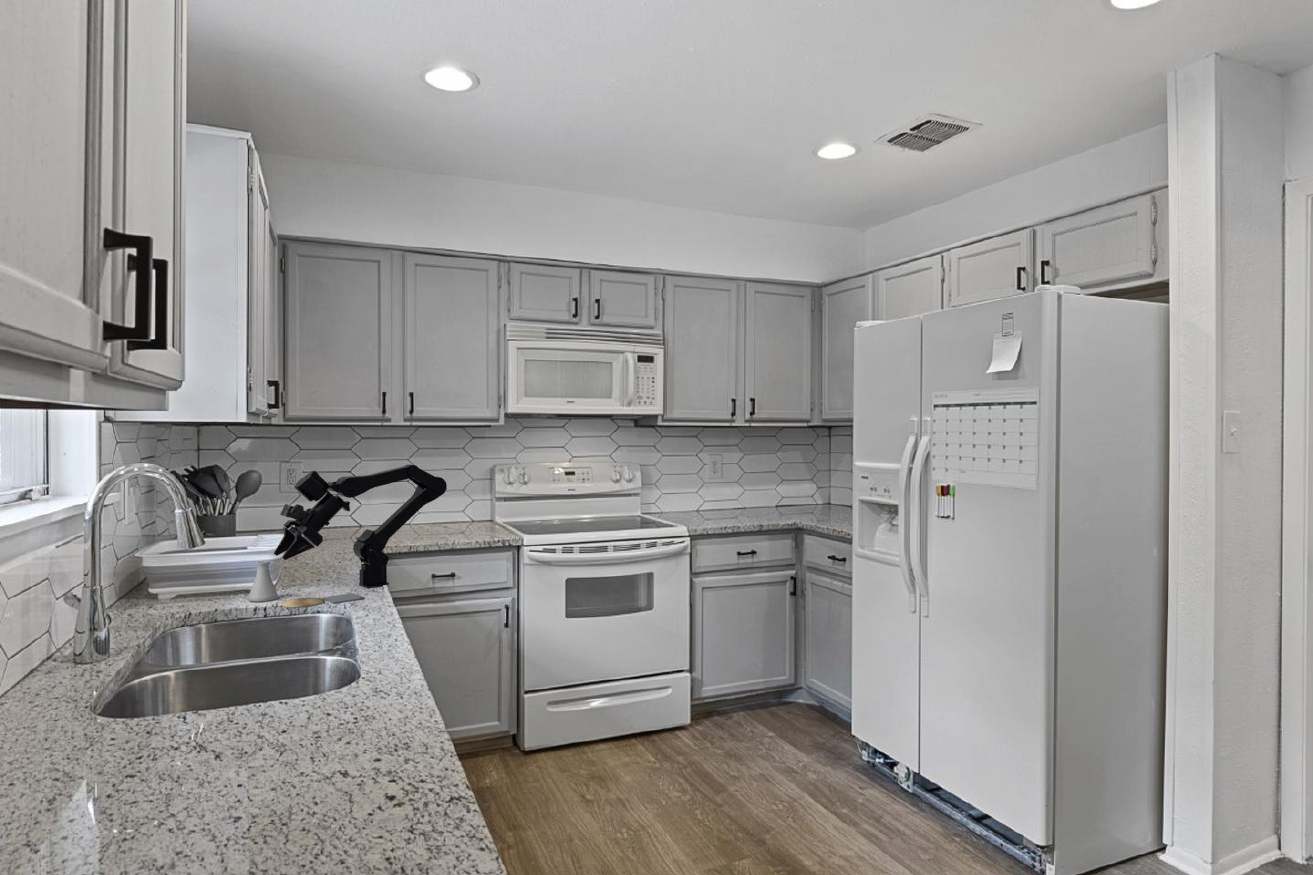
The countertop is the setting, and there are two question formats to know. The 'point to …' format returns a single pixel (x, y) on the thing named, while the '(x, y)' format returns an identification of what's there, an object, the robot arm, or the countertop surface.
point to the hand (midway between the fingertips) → (279, 556)
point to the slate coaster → (343, 598)
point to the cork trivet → (302, 602)
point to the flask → (263, 584)
